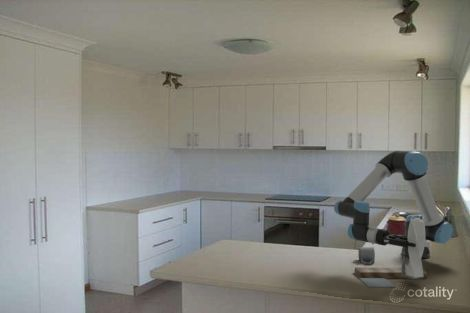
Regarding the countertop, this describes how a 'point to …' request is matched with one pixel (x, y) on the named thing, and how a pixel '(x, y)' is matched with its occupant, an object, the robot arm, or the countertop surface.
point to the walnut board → (381, 272)
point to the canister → (396, 225)
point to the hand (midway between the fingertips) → (426, 245)
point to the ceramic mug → (366, 254)
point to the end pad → (377, 282)
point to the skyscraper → (414, 249)
